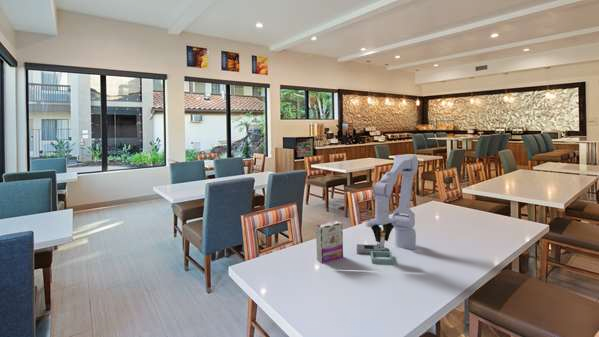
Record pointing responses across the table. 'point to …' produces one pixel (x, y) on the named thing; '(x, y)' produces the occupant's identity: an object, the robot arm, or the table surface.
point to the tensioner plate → (369, 249)
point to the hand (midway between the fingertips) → (381, 240)
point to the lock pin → (381, 239)
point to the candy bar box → (329, 241)
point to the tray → (382, 261)
